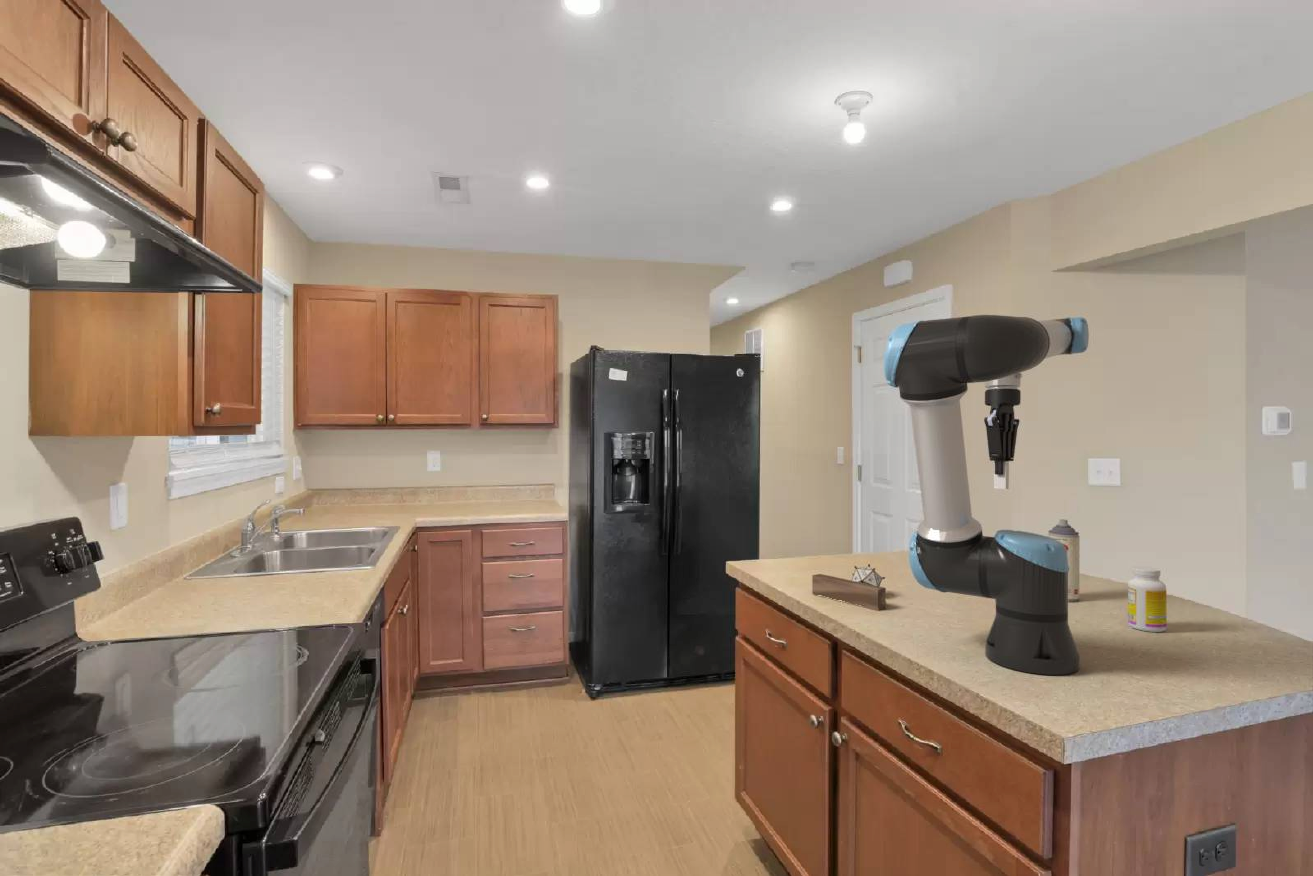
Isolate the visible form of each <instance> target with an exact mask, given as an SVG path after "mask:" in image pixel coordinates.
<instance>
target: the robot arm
mask: <svg viewBox="0 0 1313 876" xmlns="http://www.w3.org/2000/svg"><path fill="white" fill-rule="evenodd" d="M1089 333H1090V332H1089V324H1088V321H1087V319H1086V318H1084V317H1081V316H1080V317H1066V318H1055V319H1046V320H1036V319H1035V318H1032V317H1028V316H1027V317H1026V316H1012V315H1000V314H999V315H998V314H975V315H970V316H960V317H950V318H949V317H948V318H939V319H938V318H937V319H928V320H919V321H913V322H908V323H904V324H900V325H898V326H897V327H895V328H894V330H893V331H892V332H891V334H890V336H889V337H888V339H887V343H886V347H885V352H884V356H883V357H884V358H883V372H884V378H885V380H886V381H887V382H886V383H887V384H888V385H889V386H891V387H893V388H895V389H896V388H897V389H898V390H899V398H900V400H902V401H903V402H904V403H905V404H907V405H908V406H909V409H910V416H911V425H912V431H913V433H912V434H913V441H914V449H915V456H916V464H917V472H918V480H919V488H920V490H919V491H920V497H921V504H922V513H923V520H922V521H921V522H920V523H919V524H918V525H917V528H916V529H917V531H915V532H914V533H913V534H912V535H911V537H910V541H909V547H908V548H909V552H908V561H909V566H910V569H911V572H912V575H913V577H914V579H915V581H916V582H917V583H918V584H919V585H921V586H922V587H923V588H925V589H927V590H928V589H929V590H934V591H938V592H940V593H951V594H957V595H958V594H959V595H966V596H971V597H977V598H978V597H979V598H986V599H992V600H995V616H994V619H993V622H992V624H991V627H990V630H989V632H988V635H987V637H986V641H985V645H984V646H985V647H984V648H985V649H984V650H985V652H984V654H985V656H986V658H987V659H988V660H990V661H991V662H993V663H995V664H996V665H999V666H1001V667H1002V666H1003V667H1005V668H1007V669H1012V670H1014V671H1019V672H1023V673H1024V672H1025V673H1030V674H1035V675H1036V674H1038V675H1048V676H1050V675H1051V676H1052V675H1053V676H1055V675H1056V676H1061V675H1069V674H1073V673H1077V672H1078V671H1079V670H1080V653H1079V650H1078V648H1077V645H1076V643H1075V642H1076V641H1075V639H1074V636H1073V634H1072V631H1071V629H1070V628H1071V627H1070V625H1069V602H1068V572H1069V566H1068V556H1067V549H1066V547H1065V546H1064V545H1063V544H1062V543H1061V542H1059V541H1058V540H1055V539H1053V538H1050V537H1048V535H1047V536H1046V535H1043V534H1039V533H1034V532H1029V531H1022V530H1013V529H999V530H997V531H996V533H995V534H994V536H989V535H983V527H982V524H981V523H980V521H979V520H978V519H976V518H974V517H973V514H972V506H971V505H972V504H971V495H970V494H971V493H970V485H969V476H968V467H967V459H966V449H965V448H966V447H965V438H964V430H963V419H962V410H961V399H962V398H963V397H964V395H965V394H966V393H967V392H968V390H969V389H968V384H973V383H974V384H975V383H984V388H986V389H985V391H984V405H985V406H987V407H988V406H989V407H990V409H989V416H987V417H984V418H983V419H984V420H983V421H984V424H985V428H986V429H985V431H986V438H987V439H986V440H987V449H988V458H989V461H991V462H992V461H993V471H994V472H993V489H996V490H998V489H999V490H1009V489H1010V488H1009V486H1010V484H1009V482H1010V479H1009V478H1010V477H1009V476H1010V462H1014V461H1015V460H1014V458H1015V453H1016V444H1017V435H1018V427H1019V426H1020V419H1019V418H1015V409H1014V407H1017V406H1019V405H1021V395H1022V394H1021V390H1020V389H1019V388H1020V387H1021V381H1022V380H1021V379H1022V377H1023V374H1022V372H1027V371H1029V370H1031V369H1033V368H1035V367H1037V366H1039V365H1040V364H1042V362H1044V360H1046V359H1048V358H1051V357H1052V358H1053V357H1055V356H1062V355H1072V354H1073V355H1074V354H1081V353H1085V352H1086V351H1087V349H1088V346H1089V338H1090V337H1089V336H1090V335H1089Z"/></svg>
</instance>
